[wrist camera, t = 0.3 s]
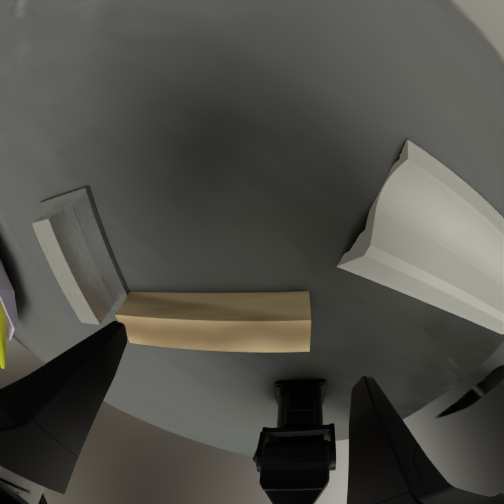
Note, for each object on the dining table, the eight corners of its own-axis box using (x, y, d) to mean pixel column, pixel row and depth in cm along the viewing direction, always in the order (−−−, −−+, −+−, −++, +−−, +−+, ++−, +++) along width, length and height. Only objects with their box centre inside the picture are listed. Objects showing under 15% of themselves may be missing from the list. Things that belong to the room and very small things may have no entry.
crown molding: (544, 269, 19) (557, 284, 16) (498, 332, 25) (507, 349, 22) (401, 139, 16) (423, 148, 13) (333, 265, 23) (339, 292, 20)
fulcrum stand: (137, 307, 27) (121, 333, 24) (87, 305, 29) (72, 326, 25) (89, 185, 21) (61, 202, 17) (41, 201, 22) (16, 217, 18)
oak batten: (308, 320, 26) (309, 351, 22) (144, 317, 29) (130, 342, 25) (308, 288, 24) (311, 320, 20) (131, 289, 27) (114, 314, 23)
